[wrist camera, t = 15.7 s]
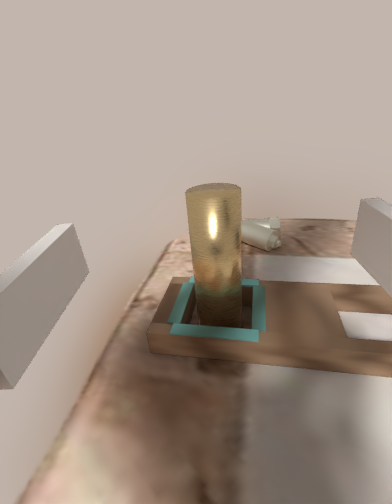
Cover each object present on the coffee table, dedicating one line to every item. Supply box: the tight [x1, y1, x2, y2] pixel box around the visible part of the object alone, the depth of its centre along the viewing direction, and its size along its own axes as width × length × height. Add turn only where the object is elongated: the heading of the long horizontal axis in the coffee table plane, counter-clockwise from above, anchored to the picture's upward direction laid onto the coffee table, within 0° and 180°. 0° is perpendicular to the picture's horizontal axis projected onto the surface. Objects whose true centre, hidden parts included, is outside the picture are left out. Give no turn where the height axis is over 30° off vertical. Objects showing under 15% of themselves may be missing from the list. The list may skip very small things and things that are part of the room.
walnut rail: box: [146, 276, 392, 377], centre depth 27 cm, size 26×9×3 cm, turn 79°
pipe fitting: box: [241, 217, 282, 252], centre depth 43 cm, size 8×4×7 cm
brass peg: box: [185, 183, 242, 328], centre depth 25 cm, size 4×4×14 cm
